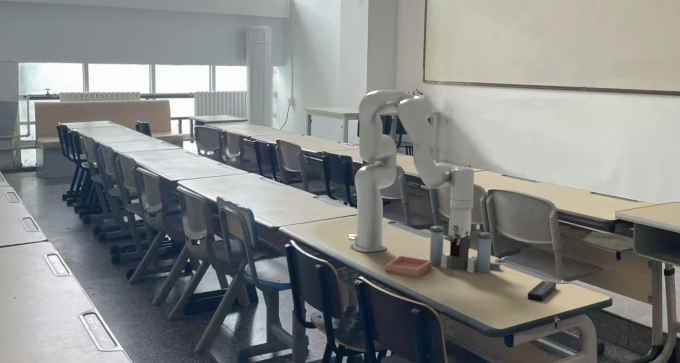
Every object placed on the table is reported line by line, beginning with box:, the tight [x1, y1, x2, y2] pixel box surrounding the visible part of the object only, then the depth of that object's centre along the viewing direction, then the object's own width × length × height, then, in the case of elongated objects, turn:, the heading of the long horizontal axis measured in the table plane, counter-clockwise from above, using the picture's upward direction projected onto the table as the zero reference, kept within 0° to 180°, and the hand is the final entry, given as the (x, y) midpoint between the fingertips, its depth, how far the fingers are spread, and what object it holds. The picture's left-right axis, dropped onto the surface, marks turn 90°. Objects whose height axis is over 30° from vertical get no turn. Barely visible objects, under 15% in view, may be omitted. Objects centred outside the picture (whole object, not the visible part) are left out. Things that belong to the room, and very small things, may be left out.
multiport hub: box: [527, 280, 557, 303], centre depth 209 cm, size 4×14×2 cm, turn 146°
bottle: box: [450, 230, 470, 271], centre depth 233 cm, size 6×6×15 cm
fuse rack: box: [429, 225, 501, 274], centre depth 235 cm, size 25×8×13 cm, turn 60°
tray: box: [384, 255, 433, 278], centre depth 232 cm, size 12×12×2 cm
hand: (459, 252), depth 233 cm, fingers open, 9 cm apart
